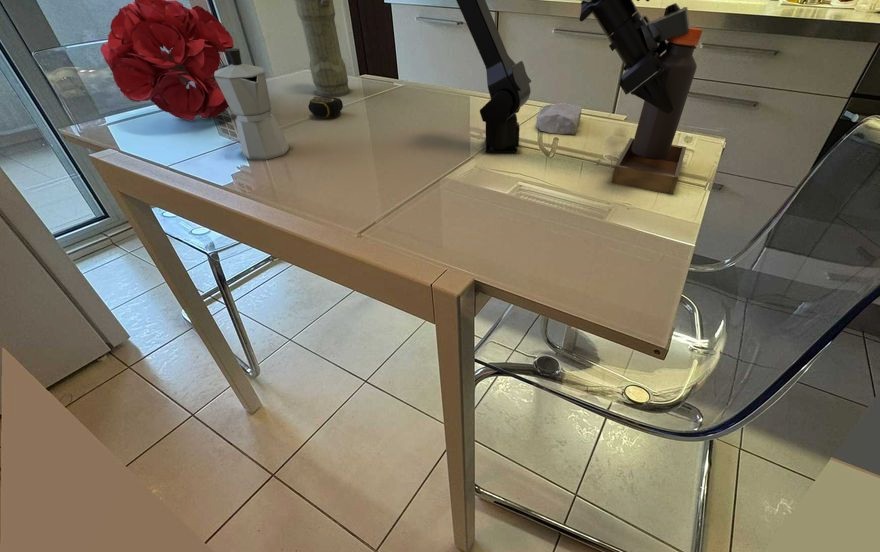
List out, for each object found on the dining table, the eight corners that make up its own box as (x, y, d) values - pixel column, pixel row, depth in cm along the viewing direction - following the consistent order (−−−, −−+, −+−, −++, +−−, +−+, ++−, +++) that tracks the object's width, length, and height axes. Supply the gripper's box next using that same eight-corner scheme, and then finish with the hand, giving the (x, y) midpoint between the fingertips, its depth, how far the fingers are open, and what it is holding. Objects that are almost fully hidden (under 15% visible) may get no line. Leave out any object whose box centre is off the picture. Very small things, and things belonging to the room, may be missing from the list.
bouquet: (200, 126, 117) (76, 92, 88) (205, 28, 112) (75, -41, 83) (273, 141, 114) (169, 111, 85) (282, 42, 109) (174, -26, 80)
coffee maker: (302, 154, 88) (273, 51, 76) (259, 167, 83) (220, 58, 71) (267, 134, 95) (236, 38, 84) (225, 145, 91) (186, 44, 79)
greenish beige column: (334, 99, 115) (296, -81, 92) (305, 91, 120) (262, -82, 97) (360, 92, 120) (331, -80, 97) (332, 84, 125) (297, -81, 102)
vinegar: (644, 146, 86) (679, 24, 74) (674, 157, 82) (716, 30, 70) (623, 151, 82) (656, 23, 70) (654, 163, 78) (695, 30, 66)
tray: (611, 182, 81) (614, 165, 79) (627, 153, 92) (630, 137, 90) (673, 194, 78) (678, 177, 76) (681, 162, 89) (686, 146, 87)
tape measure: (345, 111, 108) (342, 95, 106) (336, 121, 103) (332, 104, 100) (318, 110, 108) (314, 94, 106) (307, 120, 103) (303, 102, 101)
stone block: (535, 139, 101) (579, 134, 98) (533, 117, 98) (578, 112, 96) (542, 124, 110) (583, 119, 107) (540, 104, 107) (582, 98, 105)
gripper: (662, -11, 60) (718, 88, 65) (673, -22, 73) (719, 61, 78) (595, 49, 67) (650, 134, 72) (616, 29, 81) (661, 102, 85)
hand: (672, 105), depth 77 cm, fingers closed on vinegar, 7 cm apart
